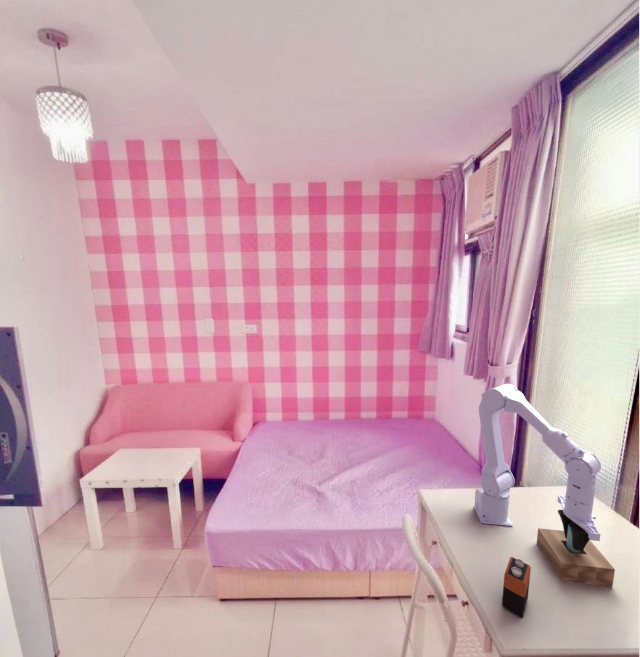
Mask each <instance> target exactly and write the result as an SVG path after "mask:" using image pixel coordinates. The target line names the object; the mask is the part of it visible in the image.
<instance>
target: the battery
mask: <svg viewBox="0 0 640 657" xmlns="http://www.w3.org/2000/svg"><path fill="white" fill-rule="evenodd" d="M531 570H532V568H531V565H529V564H528V563H526V562H524V561H523V560H522V559H519V558H516V557H514V556H510V558H509V560H508V563H507V565H506V568H505V571H504V576H503V585H502V586H503V587H502V597H501V599H502V600H501V606H502V608H504V609H505V610H507V611H508V612H511V613H512V614H514V615H516V616H518V617H519V618H521V619H522V618H523V617H524V614H525V611H526V608H527V607H526V606H527V603H528V599H529V591H530V580H531V579H530V578H531Z"/></svg>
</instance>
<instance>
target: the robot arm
mask: <svg viewBox="0 0 640 657" xmlns="http://www.w3.org/2000/svg"><path fill="white" fill-rule="evenodd" d="M501 411H503V412H507V413H514V414H518V415H519V416H520V417H521V418H523V420H525V421H526V423H528V424H529V425H530V426H531V427H532V428H534V429H535V430H536V431H537V432H538V433H539V434H540V435H541V438H542V443H544V445H545V446H546V447H548V448H549V449H550V451H552V452H553V454H554V455H555V456H557V457H558V459H560V460H561V461H562V463H563V464H564V469H565V471H566V473H567V478H566V480H567V481H566V489H565V495H559V494H558V495H557V502H558V503H559V504H560V505H561V508H562V509H558V510H557V514H558V515H559V517H560V521H561V523H562V527H563V531H564V534H565V538H566V539H567V532H568V524H569V526H570V529H571V532H572V545H573V548H574V549H575V550H581V551H583V550H584V548H585V546H586V544H587V543H588V541H589V540H590V541H593V542H594V541H596V542H597V541H598V542H600V539H601V533H600V532H599V530H598V529H597V526H596V523H595V521H594V520H596V519H597V516H596V515H595V514H594V513H593V508H594V500H595V494H596V493H595V492H596V480H597V476H596V475H597V474H598V473H599V472H600V470H601V468H602V466H601V462H600V460H599V458H598V457H596V454H594V453H592V452H590V451H587V450H585V449H584V448H581V447H580V446H579V445H578V444H577V443H575V441H574V440H573V439H571V438H570V434H569V433H568V432H567V431H563V430H562V429H560V428H556V427H553V426H551V424H549V422H548V421H547V420H546V419H545V418H544V417H543V416H542V415H541V414H540V413H539V411H537V409H536V408H534V406H532V405H531V403H530V402H529V401H528V400H527V399H526V397H525V395H524V393H522V391H520V390H518V388H517V387H516V386H514V384H512V383H504V384H502V385H498V386H497V387H496V386H495V387H493V388H489V389H486V391H484V392H482V393H481V400H480V402H479V405H478V413H479V414H478V415H479V422H480V430H481V435H482V436H481V437H482V442H483V450H484V458H485V459H484V460H485V463H484V465H483V467H482V469H481V477H480V486H481V488H476V489H475V492H474V505H473V509H474V510H475V513H476V514H477V517H478V519H479V522H480V523H481V524H486V525H487V524H488V525H497V526H508V527H512V526H514V524H513V522H512V521H511V519H510V517H509V504H510V494H511V493H510V491H511V490H510V489H511V488H512V487H514V485H515V483H516V482H515V481H516V480H515V477H514V475H513V473H512V471H511V466H510V465H509V464H508V463H507V462H506V461H505V454H504V448H503V440H502V432H501V426H500V419H499V413H501ZM570 523H572V524H570Z"/></svg>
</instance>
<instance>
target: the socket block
mask: <svg viewBox="0 0 640 657" xmlns="http://www.w3.org/2000/svg"><path fill="white" fill-rule="evenodd" d="M566 542H567V539H566V538H565V534H564V530H560V529H559V530H558V529H550V528H549V529H548V528H539V527H538V528H537V534H536V545H537V546H538V549H540V551H541V553H542V554H543V556H544V557H545V559H546V561H547V562H548V564H549V565H550V567H551V569H552V570H553V571H554V573H555V575H556V577H557V578H558V580H559V581H562V582H563V581H564V582H568V583H569V582H570V583H571V582H572V583H578V584H587V585H594V586H596V585H597V586H602V587H610V588H612V587H613V584H614V580H615V579H614V578H615V572H616V571H615V570H616V569H615V567H613V565H612V564H611V563H610V562H609V561H608V559H607V558H606V557H605V556H604V554H603V553H602V552H601V551H600V550H599V549H598V548H597V546H596V545H595V544H594V543H593V541H592V540H589V541H588V543H587V544H586V546H585V548H584V550H583V551H581V550H580V554H578V553H570V552H569V551H568V550H567V548H566Z"/></svg>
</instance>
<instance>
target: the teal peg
mask: <svg viewBox="0 0 640 657" xmlns="http://www.w3.org/2000/svg"><path fill="white" fill-rule="evenodd" d="M570 524H572V523H570ZM566 548H567V550H568V551H569V552H570V553H578V554H580V550H575V549H574V548H573V545H572V532H571V529H570V526H569V524H568V532H567V542H566Z"/></svg>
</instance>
